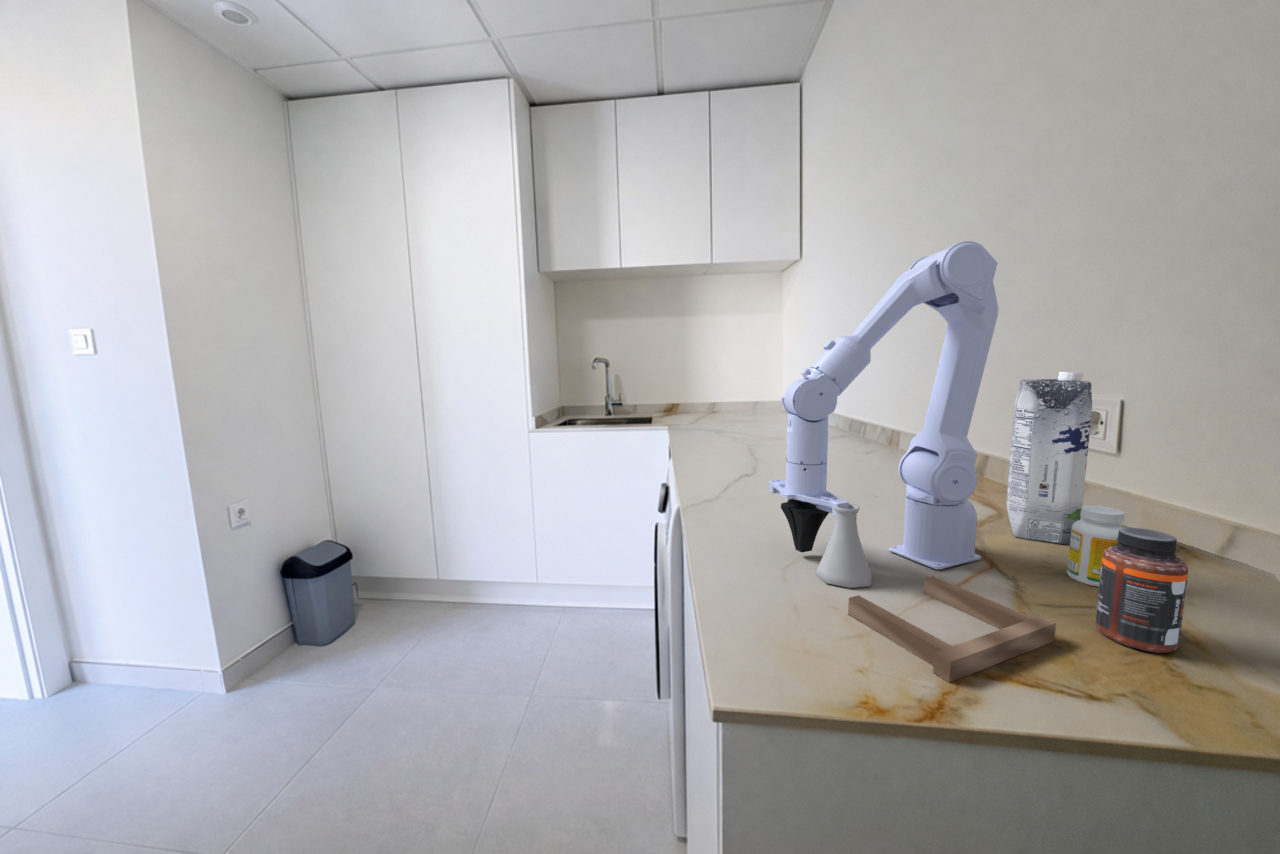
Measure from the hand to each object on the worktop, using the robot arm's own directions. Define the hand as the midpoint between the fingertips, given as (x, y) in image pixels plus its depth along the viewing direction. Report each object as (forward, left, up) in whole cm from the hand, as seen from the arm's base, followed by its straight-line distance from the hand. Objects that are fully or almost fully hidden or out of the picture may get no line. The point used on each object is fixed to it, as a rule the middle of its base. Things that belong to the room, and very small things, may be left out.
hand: (803, 550), depth 70 cm
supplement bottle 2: (-16, +31, -1) cm, 35 cm away
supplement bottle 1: (-29, +22, -1) cm, 36 cm away
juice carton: (-42, +9, -1) cm, 43 cm away
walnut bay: (0, +21, -1) cm, 21 cm away
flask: (0, +8, -1) cm, 8 cm away
